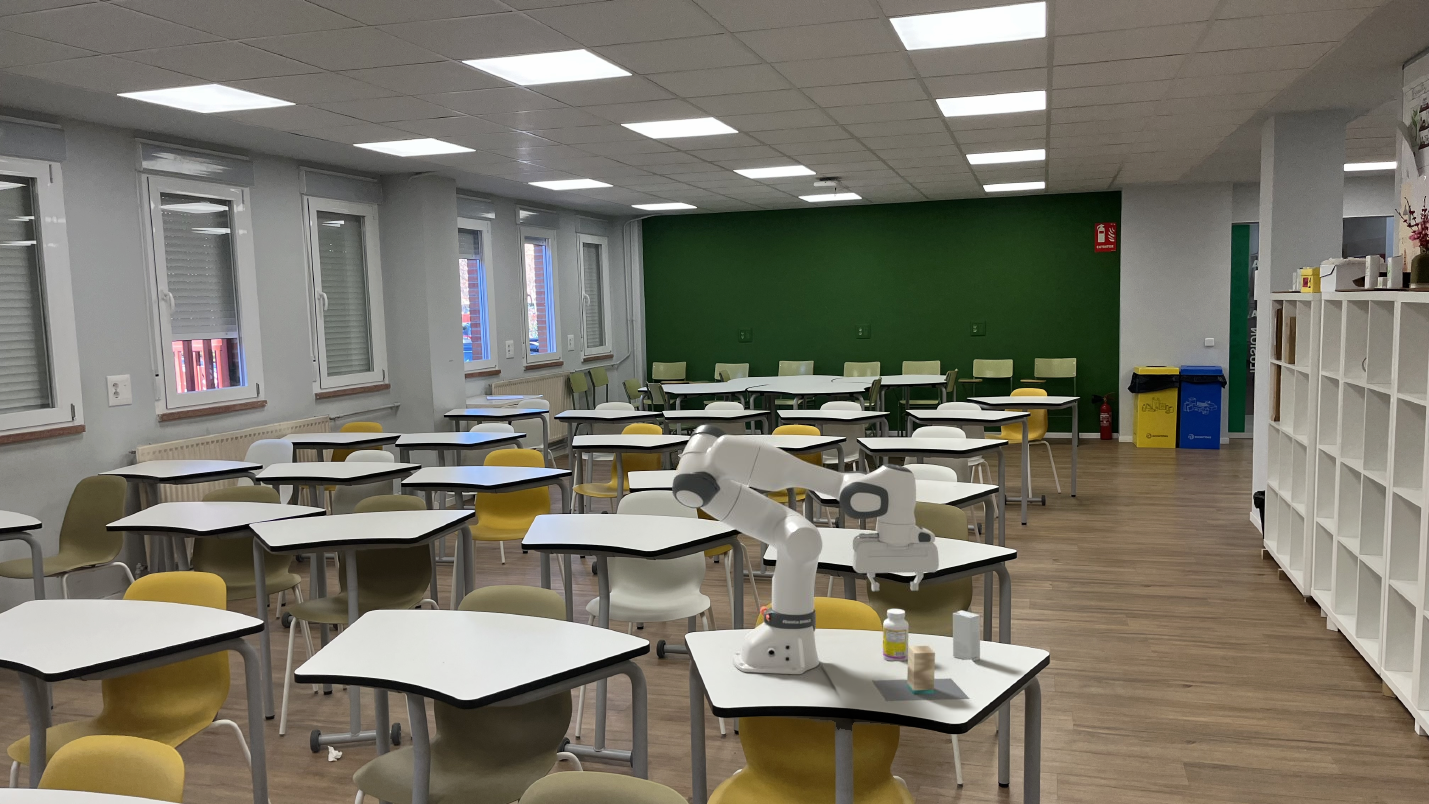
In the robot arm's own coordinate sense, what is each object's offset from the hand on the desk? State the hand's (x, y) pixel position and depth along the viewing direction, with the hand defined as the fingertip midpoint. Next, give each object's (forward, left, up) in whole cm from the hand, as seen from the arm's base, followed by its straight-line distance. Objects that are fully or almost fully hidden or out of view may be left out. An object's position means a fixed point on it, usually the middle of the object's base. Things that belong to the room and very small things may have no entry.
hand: (894, 590), depth 230 cm
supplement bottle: (+8, +25, -26) cm, 36 cm away
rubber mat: (+7, 0, -25) cm, 26 cm away
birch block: (+7, 0, -24) cm, 25 cm away
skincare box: (+27, +24, -26) cm, 44 cm away
